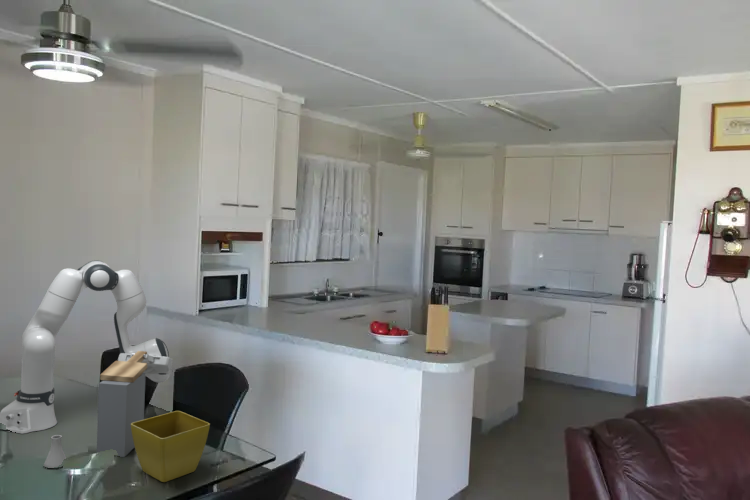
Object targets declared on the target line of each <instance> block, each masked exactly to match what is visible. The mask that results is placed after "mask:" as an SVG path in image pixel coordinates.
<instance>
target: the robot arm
mask: <svg viewBox="0 0 750 500" xmlns="http://www.w3.org/2000/svg"><path fill="white" fill-rule="evenodd" d="M86 288H87V289H88V288H89V289H90V290H92V291H96V292H103V291H111V293H112V295H113V296H114V299H115V302H116V306H117V310H116V312H114V315H113V323H114V329H115V333H116V334H115V335H116V338H117V342H118V343H117V344H118V348H119V355H118V358H117V361H126V362H127V361H128V360H129V359H130V358H131V357H132V356H133V355H134V354H135V353H136V352H138V351H146V352H147V354H144V355H143V359H144V360H143V361H142V362H141V363H147V369H146V370H145V371H144V372H143V373H146V374H145V377H147V378H148V379H149V380H151V381H153V382H155V383H159V384H160V383H164V382H166V381H167V380H168V379H169V378H170V376H171V373H172V371H171V370H172V366H173V363H174V362H173V360H174V359H173V358H171V357H170V353H169V350H168V347H167V345H166V343H165V342H164V341H163V340H162V339H160V338H157V337H156V338H151V339H149V340H146V341H144V342H141V343H138V344H135V345H132V344H131V341H130V337H129V333H128V325H129V324H130V322H133V320H134V319H136V318H137V317H138V316H139V315H141V313H143V311H144V310H145V308H146V305H147V299H146V294H145V292H144V290H143V287H142V286H141V283H140V282H139V279H138V278H137V276H136V275H135V273H134V272H133V271H132V270H130V269H120V270H117V271H116V270H113V269H112V268H111V267H110V266H109V264H107V263H106V262H104V261H102V260H99V259H98V260H95V259H94V260H91V261H88V262H87V263H85V264H84V265H82V266H80V267H79V268H77V269H74V268H70V267H67V268H63V269H61V270H60V271H59V272H58V273H57V274H56V276H55V278H54V279H53V280H52V282H51V283H50V285H49V287H48V289H47V291H46V293H45V295H43V298H42V300H41V302H40V304H39V306H38V308H37V309H36V311H35V313H34V314H33V315H32V317H31V319H30V320H29V322H28V324H27V326H26V327H25V329H24V331H23V333H22V335H21V346H22V347H21V371H20V373H21V375H20V377H21V379H20V390H18V391H16V392H14V393H13V397H16V398H15V400H13V401H12V402H10V403H9V404H7V405H6V406H4V407H3V408H2V409H1V410H0V423H2V424H4V425H6V429H8V430H10V431H12V432H11V433H15V432H16V434H28V433H31V432H36V431H37V432H39V431H44V430H47V429H50V428H53V427H54V426H56V425H57V423H58V420H57V417H56V414H55V407H54V402H55V387H54V375H55V374H54V372H55V371H54V370H55V358H56V357H55V356H56V336H57V335H58V332H59V331H60V330H61V328H62V326H63V325H64V324H65V322H66V321H67V320H68V317H69V316H70V314H71V312H72V310H73V308H74V306H75V304H76V302H77V300H78V298H79V297H80V294H81V293H82V292H83V290H85V289H86ZM10 431H9V432H10Z"/></svg>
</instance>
